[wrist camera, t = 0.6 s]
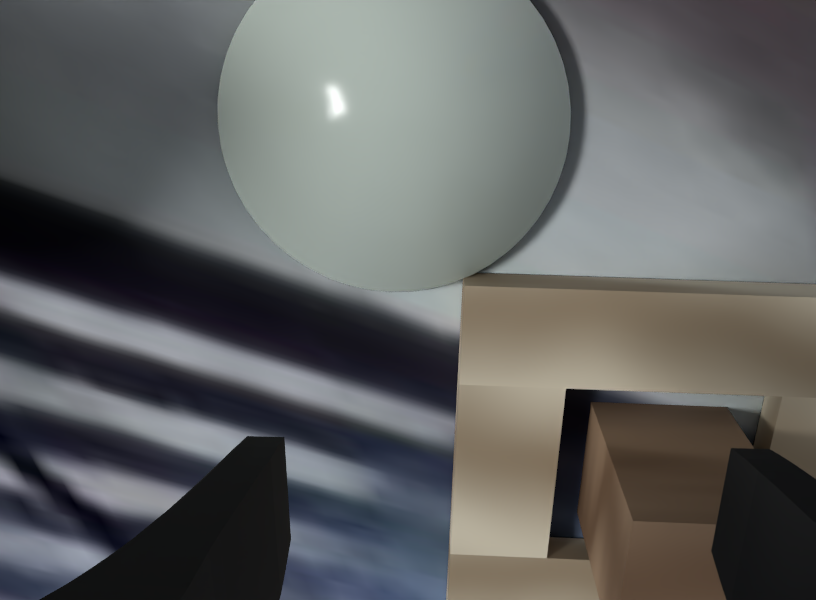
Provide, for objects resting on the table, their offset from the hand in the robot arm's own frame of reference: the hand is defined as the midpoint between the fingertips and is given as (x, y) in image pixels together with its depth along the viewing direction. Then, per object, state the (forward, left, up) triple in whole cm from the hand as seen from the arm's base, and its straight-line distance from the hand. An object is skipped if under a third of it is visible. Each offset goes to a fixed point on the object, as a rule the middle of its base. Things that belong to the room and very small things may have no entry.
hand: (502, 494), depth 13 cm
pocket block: (-6, -6, -10) cm, 13 cm away
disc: (+4, +2, -10) cm, 11 cm away
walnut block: (-6, -6, -10) cm, 13 cm away
